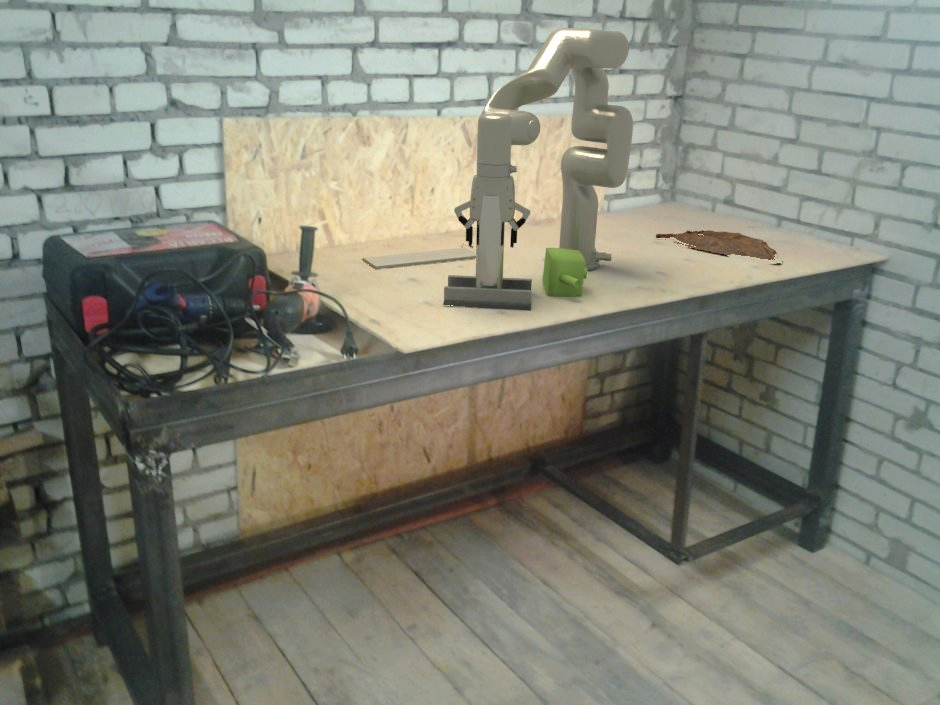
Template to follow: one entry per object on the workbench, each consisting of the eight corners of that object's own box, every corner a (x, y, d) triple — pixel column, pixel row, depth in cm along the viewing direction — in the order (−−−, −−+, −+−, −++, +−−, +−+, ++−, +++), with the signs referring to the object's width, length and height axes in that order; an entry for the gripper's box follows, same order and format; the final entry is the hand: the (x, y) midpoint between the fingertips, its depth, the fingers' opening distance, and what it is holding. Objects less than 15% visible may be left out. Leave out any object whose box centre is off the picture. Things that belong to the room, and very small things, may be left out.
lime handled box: (591, 304, 206) (596, 266, 203) (549, 302, 206) (554, 263, 202) (579, 281, 223) (583, 245, 219) (540, 279, 222) (544, 243, 219)
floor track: (530, 293, 211) (531, 277, 210) (530, 310, 199) (531, 293, 198) (448, 289, 212) (449, 273, 211) (443, 306, 200) (443, 289, 199)
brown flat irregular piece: (653, 246, 270) (654, 230, 268) (716, 237, 285) (718, 222, 283) (755, 270, 238) (757, 252, 237) (821, 259, 253) (823, 242, 251)
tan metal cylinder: (485, 289, 210) (488, 185, 201) (507, 294, 206) (511, 188, 198) (469, 295, 205) (471, 189, 196) (492, 300, 201) (495, 192, 193)
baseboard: (359, 260, 238) (375, 272, 228) (359, 250, 236) (375, 261, 227) (460, 250, 251) (480, 260, 241) (461, 240, 250) (480, 250, 240)
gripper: (532, 169, 198) (528, 242, 204) (456, 166, 199) (455, 240, 205) (532, 175, 191) (528, 251, 197) (453, 172, 192) (452, 248, 198)
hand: (491, 245), depth 201 cm, fingers open, 9 cm apart
